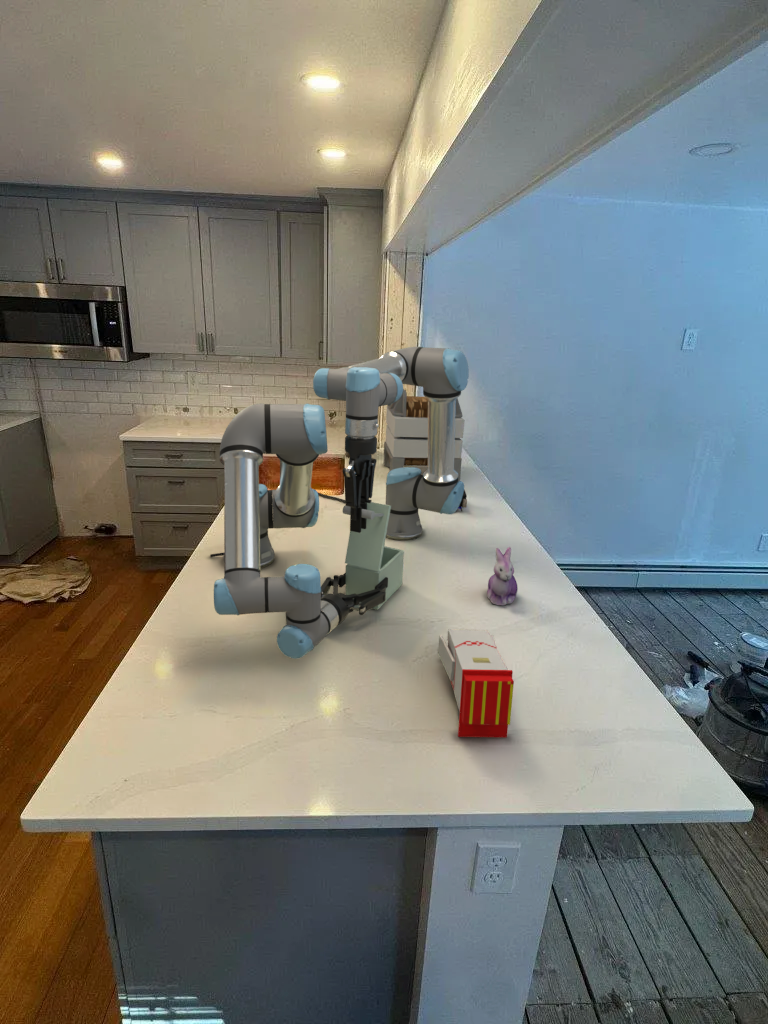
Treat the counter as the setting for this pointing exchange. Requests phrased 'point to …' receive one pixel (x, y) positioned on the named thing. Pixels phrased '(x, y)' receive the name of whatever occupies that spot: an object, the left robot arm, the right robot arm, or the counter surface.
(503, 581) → the figurine
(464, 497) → the figurine character
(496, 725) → the toy
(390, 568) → the chest
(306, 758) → the counter surface
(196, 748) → the counter surface
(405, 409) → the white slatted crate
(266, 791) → the counter surface
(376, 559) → the lid
